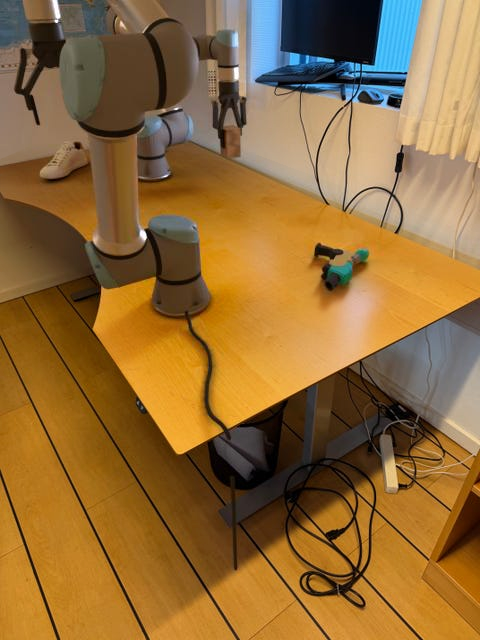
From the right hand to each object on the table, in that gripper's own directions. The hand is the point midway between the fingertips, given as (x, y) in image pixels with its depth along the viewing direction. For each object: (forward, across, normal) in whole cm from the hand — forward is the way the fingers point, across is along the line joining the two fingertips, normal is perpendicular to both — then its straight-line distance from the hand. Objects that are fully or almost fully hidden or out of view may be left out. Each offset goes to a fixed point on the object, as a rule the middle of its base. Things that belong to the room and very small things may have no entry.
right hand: (66, 120), depth 120 cm
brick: (+28, -64, -37) cm, 79 cm away
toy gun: (+41, -59, +38) cm, 81 cm away
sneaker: (+41, -7, -89) cm, 98 cm away
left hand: (+24, -64, -37) cm, 78 cm away
